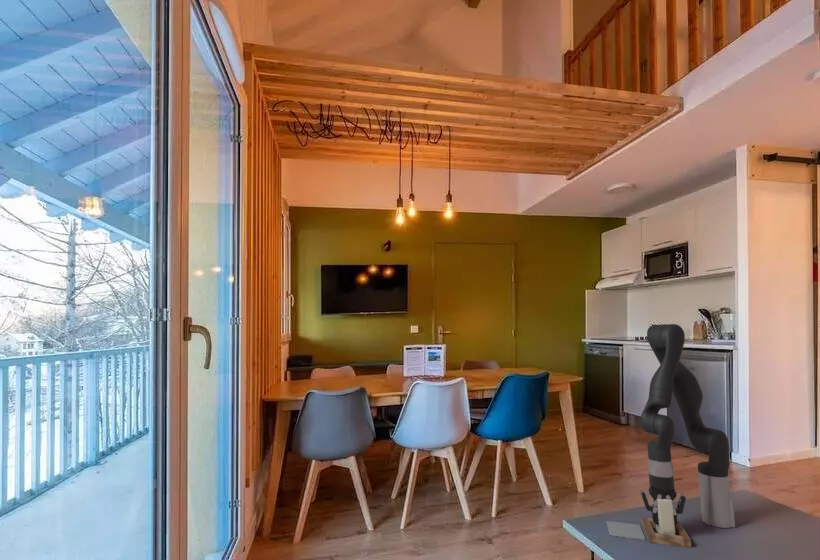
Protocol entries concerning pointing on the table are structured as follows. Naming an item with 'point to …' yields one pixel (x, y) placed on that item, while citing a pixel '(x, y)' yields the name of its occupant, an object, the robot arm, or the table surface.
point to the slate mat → (625, 530)
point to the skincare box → (665, 517)
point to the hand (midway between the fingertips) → (664, 524)
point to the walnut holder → (666, 539)
